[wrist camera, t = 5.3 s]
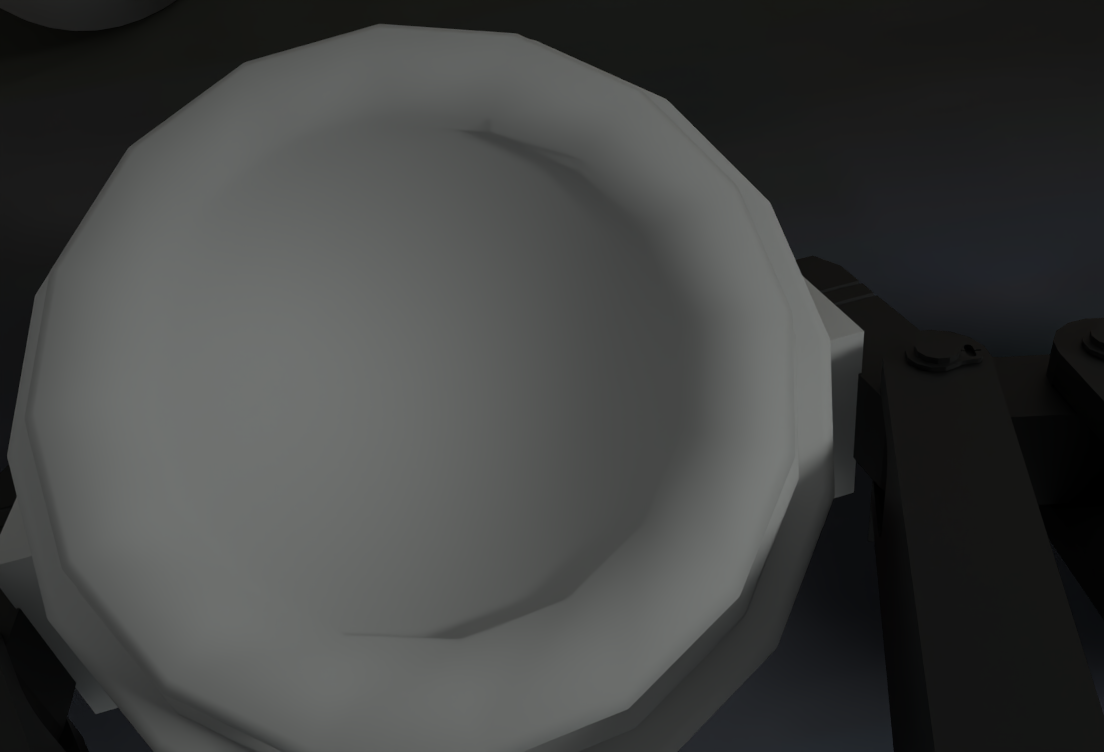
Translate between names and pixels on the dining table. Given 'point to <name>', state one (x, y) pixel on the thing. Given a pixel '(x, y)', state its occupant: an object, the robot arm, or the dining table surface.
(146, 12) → the wooden trolley
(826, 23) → the dining table surface
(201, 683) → the coffee cup
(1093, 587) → the robot arm
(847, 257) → the dining table surface
